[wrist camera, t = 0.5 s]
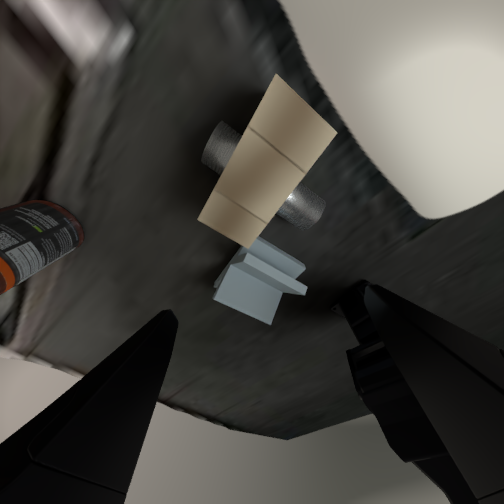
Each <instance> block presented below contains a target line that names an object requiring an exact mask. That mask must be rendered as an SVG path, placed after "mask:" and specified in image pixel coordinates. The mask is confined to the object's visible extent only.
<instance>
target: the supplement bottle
mask: <svg viewBox="0 0 504 504" xmlns="http://www.w3.org/2000/svg"><path fill="white" fill-rule="evenodd" d="M83 240H84V232H83V229H82V227H81V224H80V223H79V222H78V221H77V219H76V218H75V217H74V216H73V215H72V214H71V213H70V212H68V211H67V210H65V209H64V208H62V207H61V206H59V205H57V204H55V203H52V202H48V201H43V200H32V201H27V202H22V203H19V204H15V205H12V206H8V207H4V208H1V209H0V295H1V294H2V293H4V292H6V291H7V290H9V289H10V288H12V287H14V286H16V285H18V284H19V283H21V282H23V281H24V280H26V279H27V278H29V277H31V276H32V275H34V274H36V273H37V272H39V271H40V270H42V269H44V268H45V267H47V266H48V265H50V264H52V263H53V262H55V261H57V260H59V259H60V258H62V257H63V256H65V255H66V254H68V253H70V252H71V251H73V250H74V249H75V248H77V247H79V246H80V245H81V244H82V242H83Z"/></svg>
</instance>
